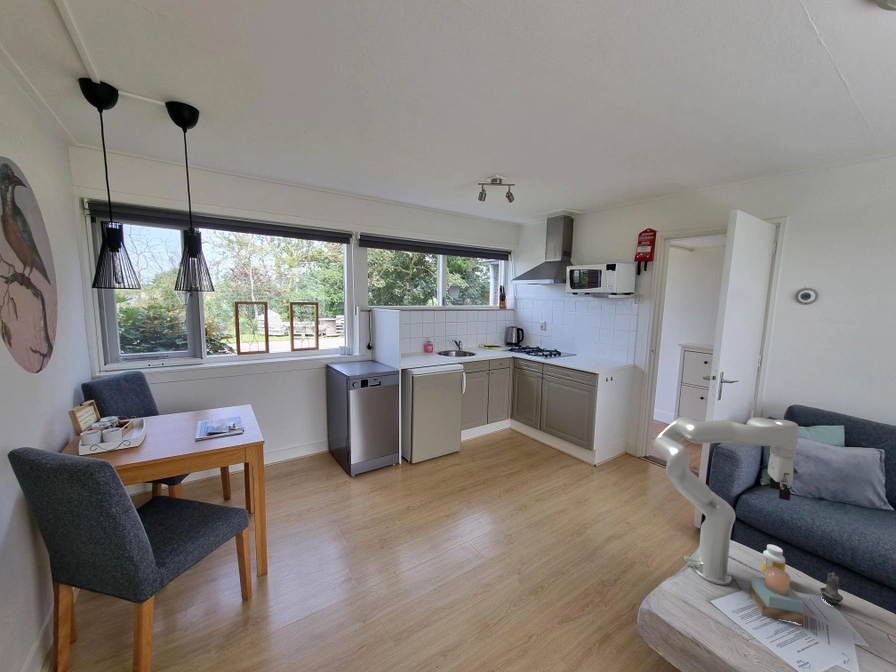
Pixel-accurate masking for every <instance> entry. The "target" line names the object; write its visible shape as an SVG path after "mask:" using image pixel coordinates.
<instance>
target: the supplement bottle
mask: <svg viewBox="0 0 896 672" xmlns="http://www.w3.org/2000/svg"><path fill="white" fill-rule="evenodd" d="M783 551H784V550H783V549H782V548H781V547H779V546H777V545H775V544H768V543H767V545H766V550H764V551H763V552H762V559H761V560H762V562H761V572H760V573H761V576H762V578H765V573H766V567H768V566H771V567H776V568H778V569H781V570H783V571H785V569H786V557H784V556H783V554H784V552H783ZM785 572H786V571H785Z"/></svg>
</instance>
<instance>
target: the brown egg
mask: <svg viewBox="0 0 896 672" xmlns="http://www.w3.org/2000/svg"><path fill="white" fill-rule="evenodd" d="M790 583H791V576H790V575H789V573H788V572H786V571H783V570H781V569H778V568H776V567H771V566H768V567H766V573H765V586H766V587H767V588H768V589H769V590H770V591H772V592H774V593H776V594H779V595H783V596H787V595H788V594H789V587H790Z"/></svg>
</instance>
